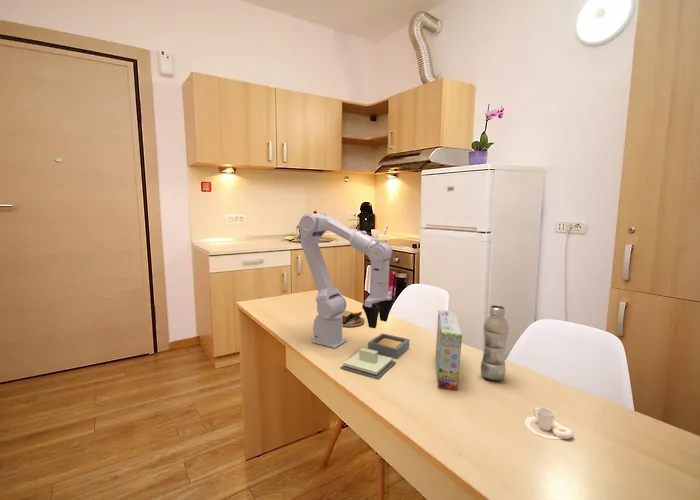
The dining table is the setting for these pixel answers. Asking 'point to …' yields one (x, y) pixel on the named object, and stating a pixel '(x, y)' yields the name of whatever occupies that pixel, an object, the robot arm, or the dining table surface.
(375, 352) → the lid
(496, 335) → the plastic bottle
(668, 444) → the dining table surface
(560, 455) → the dining table surface
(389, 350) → the box
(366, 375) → the mat
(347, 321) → the toy sandwich meal
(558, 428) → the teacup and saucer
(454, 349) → the snack box
